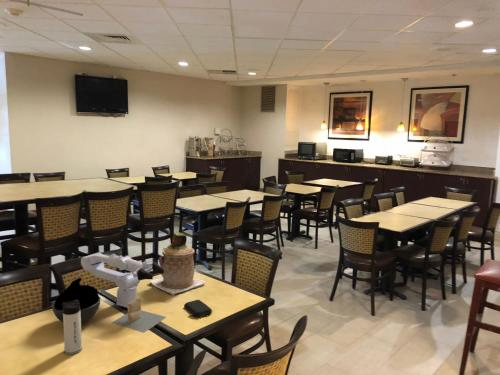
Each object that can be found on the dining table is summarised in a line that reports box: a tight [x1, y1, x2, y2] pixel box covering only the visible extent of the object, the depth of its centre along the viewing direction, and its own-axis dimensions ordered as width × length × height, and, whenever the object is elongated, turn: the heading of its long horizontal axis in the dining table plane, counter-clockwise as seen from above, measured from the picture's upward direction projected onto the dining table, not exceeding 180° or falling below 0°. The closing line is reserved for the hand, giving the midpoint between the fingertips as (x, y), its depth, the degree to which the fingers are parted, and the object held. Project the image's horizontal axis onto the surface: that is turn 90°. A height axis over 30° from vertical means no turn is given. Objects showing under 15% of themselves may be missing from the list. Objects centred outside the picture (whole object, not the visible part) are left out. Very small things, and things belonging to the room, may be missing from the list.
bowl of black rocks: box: [51, 277, 101, 325], centre depth 172 cm, size 20×20×19 cm
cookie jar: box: [148, 231, 206, 297], centre depth 218 cm, size 25×25×32 cm
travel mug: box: [62, 301, 83, 356], centre depth 150 cm, size 6×7×20 cm
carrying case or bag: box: [183, 299, 213, 318], centre depth 188 cm, size 11×3×15 cm
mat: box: [111, 309, 167, 334], centre depth 176 cm, size 19×16×1 cm
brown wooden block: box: [127, 298, 142, 323], centre depth 176 cm, size 3×6×9 cm, turn 155°
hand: (158, 274), depth 181 cm, fingers open, 7 cm apart
